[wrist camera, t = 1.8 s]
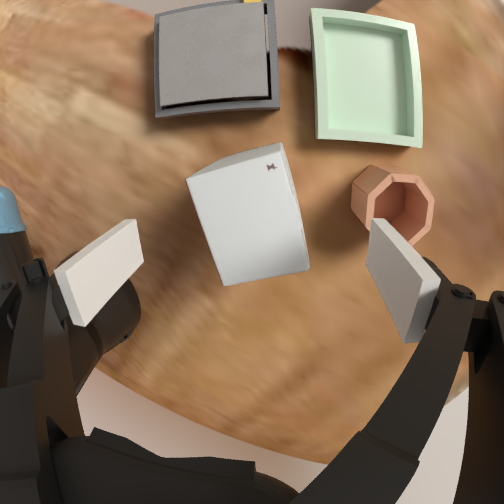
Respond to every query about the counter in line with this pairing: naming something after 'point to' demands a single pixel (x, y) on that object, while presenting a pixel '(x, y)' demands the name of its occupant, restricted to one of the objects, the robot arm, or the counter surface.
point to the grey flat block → (223, 106)
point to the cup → (393, 200)
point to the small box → (250, 215)
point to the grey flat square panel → (213, 54)
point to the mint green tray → (365, 78)
